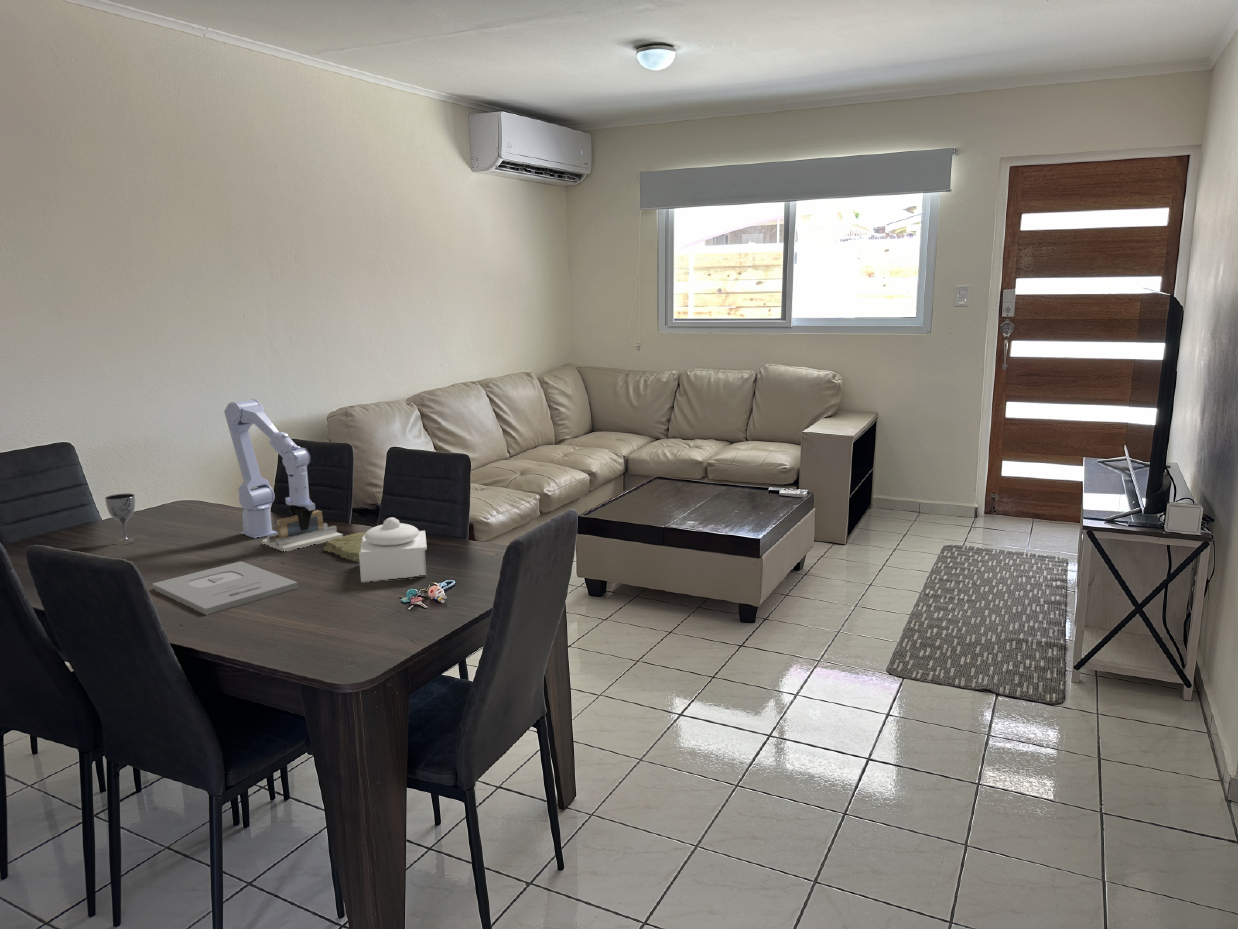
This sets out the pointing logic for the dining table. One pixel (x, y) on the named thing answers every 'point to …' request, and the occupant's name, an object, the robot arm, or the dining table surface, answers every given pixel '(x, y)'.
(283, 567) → the dining table surface
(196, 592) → the award plaque
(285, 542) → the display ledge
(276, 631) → the dining table surface
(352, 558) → the mossy green slab
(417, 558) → the butter dish
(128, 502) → the wine glass
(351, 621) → the dining table surface
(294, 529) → the tan wooden frame
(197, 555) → the dining table surface
